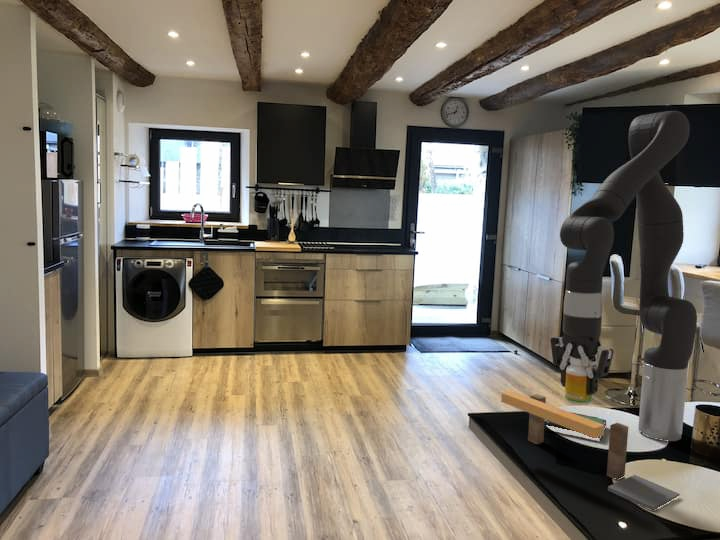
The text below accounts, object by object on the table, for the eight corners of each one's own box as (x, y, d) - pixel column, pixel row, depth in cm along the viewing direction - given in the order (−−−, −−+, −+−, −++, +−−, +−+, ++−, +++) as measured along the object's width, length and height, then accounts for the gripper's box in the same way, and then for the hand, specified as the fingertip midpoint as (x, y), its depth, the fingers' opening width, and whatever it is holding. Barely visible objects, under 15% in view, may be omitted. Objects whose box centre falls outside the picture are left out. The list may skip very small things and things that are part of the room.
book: (634, 478, 116) (634, 474, 116) (679, 497, 109) (679, 493, 109) (607, 490, 111) (608, 486, 111) (653, 511, 104) (653, 507, 104)
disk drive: (535, 431, 141) (600, 444, 134) (535, 420, 141) (600, 432, 133) (544, 417, 150) (606, 428, 143) (545, 406, 150) (606, 417, 142)
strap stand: (534, 438, 135) (537, 394, 134) (624, 477, 117) (628, 426, 115) (528, 440, 134) (530, 395, 132) (617, 480, 115) (621, 429, 114)
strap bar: (510, 399, 129) (510, 390, 129) (603, 435, 110) (604, 425, 110) (501, 401, 127) (501, 392, 127) (594, 438, 109) (595, 428, 108)
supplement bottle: (588, 407, 120) (591, 362, 119) (561, 402, 123) (564, 358, 122) (593, 399, 125) (596, 355, 123) (567, 395, 127) (569, 352, 126)
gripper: (542, 308, 125) (539, 384, 127) (602, 320, 113) (598, 403, 115) (564, 304, 129) (561, 378, 131) (624, 316, 117) (620, 396, 120)
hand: (578, 389), depth 123 cm, fingers closed on supplement bottle, 5 cm apart
